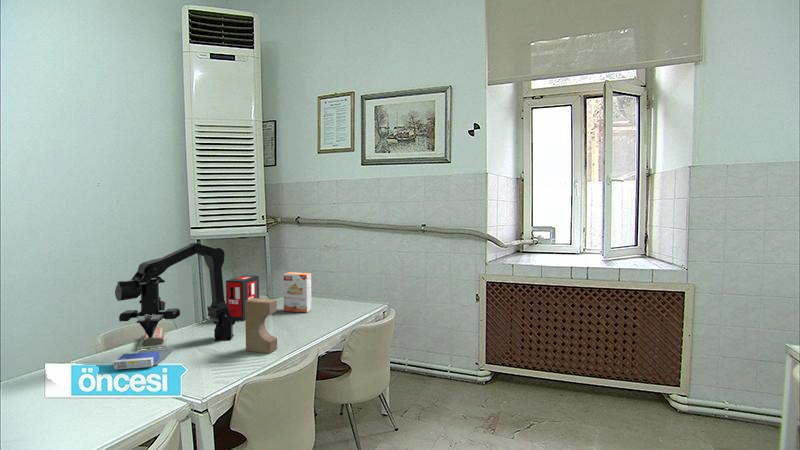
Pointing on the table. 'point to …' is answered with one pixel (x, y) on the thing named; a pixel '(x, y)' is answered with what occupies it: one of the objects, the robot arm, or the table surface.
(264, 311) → the decorative block
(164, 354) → the mat
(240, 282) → the cleaning product box
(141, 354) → the walkman
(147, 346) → the packaged product
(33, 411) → the table surface
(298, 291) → the cracker box
